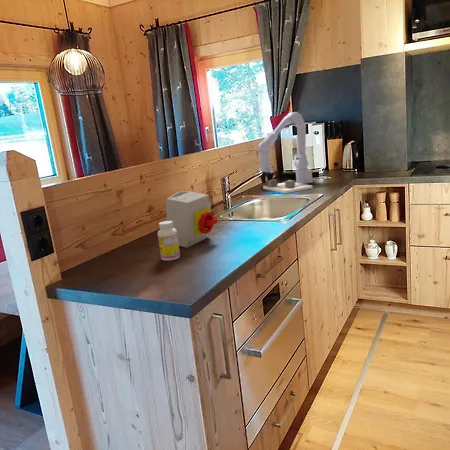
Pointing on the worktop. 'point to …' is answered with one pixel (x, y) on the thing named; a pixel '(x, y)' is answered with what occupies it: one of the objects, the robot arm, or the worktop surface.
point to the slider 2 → (289, 183)
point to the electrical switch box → (190, 217)
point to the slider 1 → (272, 183)
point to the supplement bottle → (168, 241)
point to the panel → (284, 189)
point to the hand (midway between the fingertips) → (266, 183)
